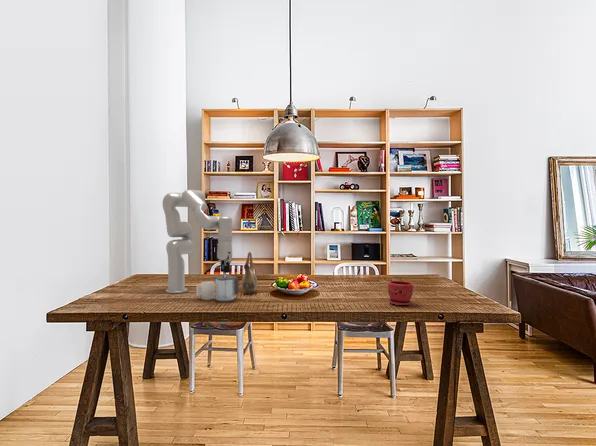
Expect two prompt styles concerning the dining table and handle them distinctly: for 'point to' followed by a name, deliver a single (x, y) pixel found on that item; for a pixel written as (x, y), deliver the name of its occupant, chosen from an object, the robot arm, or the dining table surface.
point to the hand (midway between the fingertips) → (225, 271)
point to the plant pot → (400, 292)
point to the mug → (206, 290)
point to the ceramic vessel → (249, 276)
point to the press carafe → (226, 288)
